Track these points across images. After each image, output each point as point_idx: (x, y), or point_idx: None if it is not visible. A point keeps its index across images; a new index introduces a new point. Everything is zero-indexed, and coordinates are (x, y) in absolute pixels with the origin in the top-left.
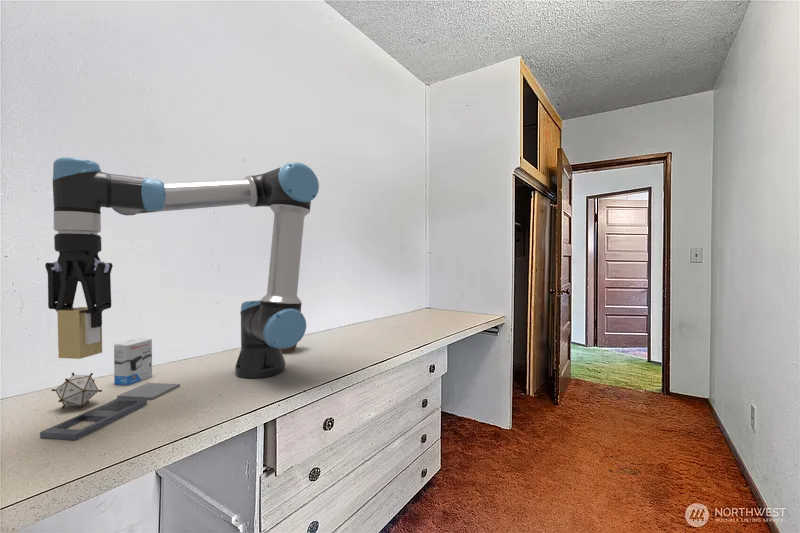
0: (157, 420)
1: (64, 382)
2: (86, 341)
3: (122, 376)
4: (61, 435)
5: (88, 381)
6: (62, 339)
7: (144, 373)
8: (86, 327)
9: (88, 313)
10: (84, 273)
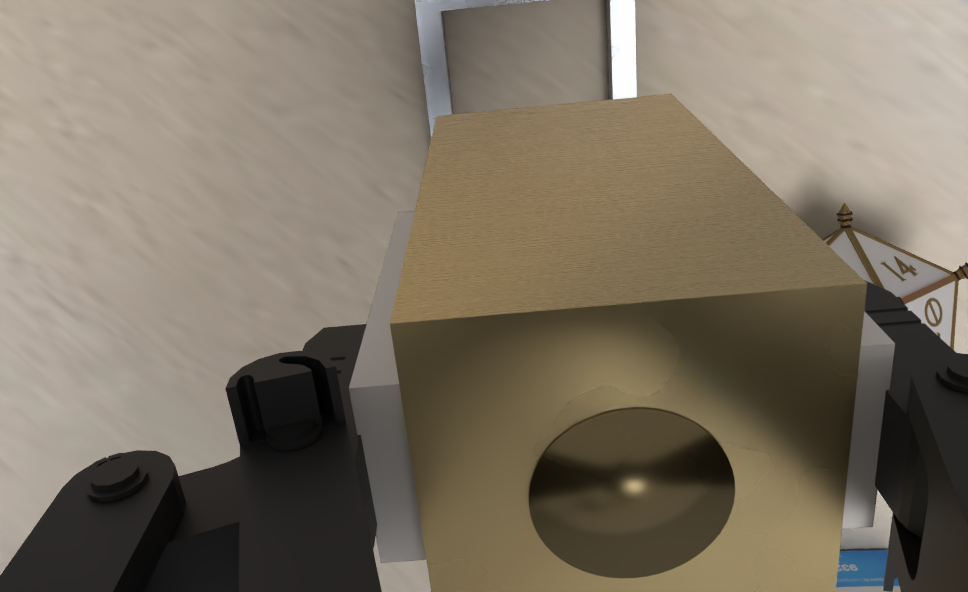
0: (225, 236)
1: (953, 332)
2: None
3: (853, 585)
4: None
5: None
6: (656, 144)
7: None
8: (397, 284)
9: (353, 399)
10: None
